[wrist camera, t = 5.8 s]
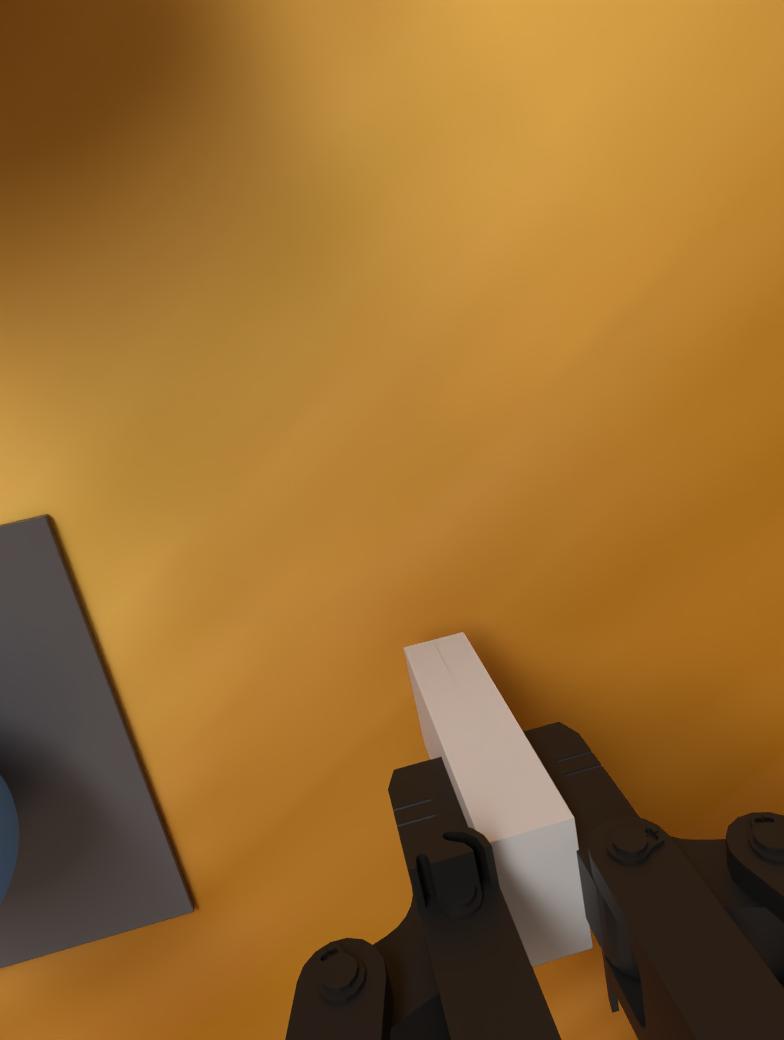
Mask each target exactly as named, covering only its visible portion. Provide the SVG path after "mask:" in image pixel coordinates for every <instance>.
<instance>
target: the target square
mask: <svg viewBox="0 0 784 1040" xmlns="http://www.w3.org/2000/svg"><path fill="white" fill-rule="evenodd" d="M0 775H1V776H2V778H3V779H4V781H5V782H6V784H7V786H8V788H9V790H10V792H11V794H12V797H13V800H14V804H15V807H16V811H17V815H18V824H19V846H18V855H17V861H16V866H15V869H14V873H13V876H12V879H11V882H10V885H9V887H8V890H7V892H6V894H5V896H4V899H3V901H2V903H1V905H0V968H3V967H6V966H10V965H13V964H17V963H20V962H23V961H27V960H30V959H34V958H37V957H41V956H44V955H47V954H51V953H54V952H58V951H61V950H65V949H68V948H71V947H75V946H78V945H82V944H85V943H89V942H92V941H95V940H99V939H102V938H106V937H109V936H113V935H116V934H119V933H123V932H126V931H130V930H133V929H136V928H140V927H143V926H147V925H150V924H154V923H157V922H160V921H164V920H167V919H171V918H174V917H178V916H181V915H184V914H188V913H191V912H194V904H193V902H192V899H191V896H190V894H189V891H188V888H187V886H186V883H185V880H184V878H183V875H182V872H181V870H180V867H179V864H178V862H177V859H176V856H175V854H174V851H173V848H172V846H171V843H170V840H169V838H168V835H167V832H166V830H165V827H164V824H163V822H162V819H161V816H160V814H159V811H158V808H157V806H156V803H155V800H154V798H153V795H152V792H151V790H150V787H149V784H148V782H147V779H146V776H145V774H144V771H143V768H142V766H141V763H140V760H139V758H138V755H137V752H136V750H135V747H134V744H133V742H132V739H131V736H130V734H129V731H128V728H127V726H126V723H125V720H124V718H123V715H122V712H121V710H120V707H119V704H118V702H117V699H116V696H115V694H114V691H113V688H112V686H111V683H110V680H109V678H108V675H107V672H106V670H105V667H104V664H103V662H102V659H101V656H100V654H99V651H98V648H97V646H96V643H95V640H94V638H93V635H92V632H91V630H90V627H89V624H88V622H87V619H86V616H85V614H84V611H83V608H82V606H81V603H80V600H79V598H78V595H77V592H76V590H75V587H74V584H73V582H72V579H71V576H70V574H69V571H68V568H67V566H66V563H65V560H64V558H63V555H62V552H61V550H60V547H59V544H58V542H57V539H56V536H55V534H54V531H53V528H52V526H51V523H50V520H49V518H48V515H47V514H46V515H42V516H37V517H33V518H29V519H24V520H20V521H16V522H11V523H7V524H3V525H0Z"/></svg>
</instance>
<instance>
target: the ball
mask: <svg viewBox="0 0 784 1040" xmlns="http://www.w3.org/2000/svg"><path fill="white" fill-rule="evenodd" d="M18 846H19V824H18V815H17V811H16V807H15V804H14V800H13V797H12V794H11V792H10V790H9V788H8V786H7V784H6V782H5V781H4V779H3V778H2V776H1V775H0V905H1V903H2V901H3V899H4V896H5V894H6V892H7V890H8V887H9V885H10V882H11V879H12V876H13V873H14V869H15V866H16V861H17V855H18Z"/></svg>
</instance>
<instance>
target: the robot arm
mask: <svg viewBox="0 0 784 1040" xmlns="http://www.w3.org/2000/svg"><path fill="white" fill-rule="evenodd" d="M404 652H405V657H406V662H407V666H408V671H409V675H410V680H411V685H412V689H413V694H414V698H415V703H416V707H417V712H418V717H419V721H420V726H421V730H422V735H423V740H424V743H425V746H426V749H427V752H428V755H429V757H430V760H427V761H424V762H420V763H417V764H413V765H410V766H406V767H402V768H399V769H395V770H394V771H393V775H392V778H391V781H390V785H389V788H388V791H389V795H390V799H391V803H392V807H393V811H394V816H395V820H396V824H397V828H398V832H399V836H400V840H401V844H402V848H403V853H404V857H405V861H406V865H407V869H408V873H409V877H410V881H411V885H412V890H413V898H412V903H411V907H410V909H409V911H408V913H407V915H406V917H405V918H404V920H403V921H402V922H401V923H400V925H399V926H398V927H397V928H396V929H395V930H393V931H392V932H391V933H390V934H388V935H387V936H386V937H384V938H383V939H381V940H380V941H378V942H377V943H375V944H374V945H372V944H370V943H368V942H366V941H365V940H363V939H353V938H345V939H341V940H337V941H333V942H330V943H329V944H327V945H325V946H324V947H322V948H321V949H319V950H318V951H316V952H315V953H314V954H313V955H312V957H311V958H310V959H309V960H308V961H307V962H306V964H305V965H304V966H303V969H302V971H301V974H300V976H299V979H298V981H297V985H296V990H295V995H294V1000H293V1005H292V1010H291V1015H290V1020H289V1025H288V1029H287V1034H286V1039H285V1040H561V1038H560V1035H559V1033H558V1030H557V1028H556V1025H555V1023H554V1020H553V1018H552V1015H551V1013H550V1010H549V1008H548V1005H547V1003H546V1000H545V998H544V995H543V993H542V990H541V988H540V985H539V983H538V981H537V978H536V976H535V973H534V971H533V968H532V967H534V966H537V965H540V964H543V963H546V962H550V961H553V960H556V959H559V958H562V957H565V956H569V955H572V954H575V953H578V952H581V951H584V950H588V949H591V948H593V946H592V939H591V932H590V927H591V929H592V931H593V933H594V935H595V937H596V939H597V940H598V942H599V944H600V946H601V948H602V953H603V961H604V968H605V975H606V982H607V990H608V997H609V1001H610V1005H611V1009H612V1013H613V1012H616V1011H619V1007H618V1000H619V1002H620V1004H621V1006H622V1008H623V1010H624V1012H625V1014H626V1016H627V1018H628V1020H629V1022H630V1024H631V1026H632V1028H633V1030H634V1032H635V1034H636V1036H637V1038H638V1040H784V816H783V815H779V814H774V813H770V812H765V813H750V814H747V815H744V816H741V817H738V818H737V819H736V820H735V821H734V822H733V823H732V824H730V825H729V826H728V830H727V834H726V839H722V840H688V839H679V838H675V837H671V836H669V835H668V834H667V833H666V832H665V831H664V830H663V829H661V828H660V827H659V826H658V825H656V824H654V823H652V822H649V821H647V820H645V819H642V818H640V817H639V816H638V815H637V813H636V812H635V810H634V809H633V808H632V806H631V805H630V804H629V802H628V801H627V799H626V798H625V797H624V795H623V794H622V792H621V791H620V790H619V788H618V787H617V786H616V784H615V783H614V781H613V780H612V779H611V777H610V776H609V775H608V773H607V772H606V770H605V769H604V768H603V767H601V763H600V762H599V761H598V759H597V758H596V757H595V755H594V754H592V752H591V750H590V748H589V747H588V746H587V744H586V743H585V741H584V740H583V739H582V737H581V736H580V734H579V733H577V732H575V731H574V730H572V729H570V728H568V727H567V726H565V725H563V724H562V723H560V722H557V723H553V724H550V725H546V726H543V727H539V728H535V729H532V730H528V731H525V732H523V731H522V729H521V728H520V726H519V724H518V723H517V721H516V719H515V718H514V716H513V714H512V713H511V711H510V709H509V708H508V706H507V704H506V703H505V701H504V699H503V698H502V696H501V694H500V693H499V691H498V689H497V687H496V686H495V684H494V682H493V681H492V679H491V677H490V676H489V674H488V672H487V671H486V669H485V667H484V666H483V664H482V662H481V661H480V659H479V657H478V656H477V654H476V652H475V651H474V649H473V647H472V646H471V644H470V642H469V641H468V639H467V637H466V636H465V634H464V632H461V633H457V634H453V635H450V636H446V637H442V638H438V639H434V640H431V641H427V642H423V643H419V644H415V645H412V646H408V647H404ZM617 998H618V999H617Z"/></svg>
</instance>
